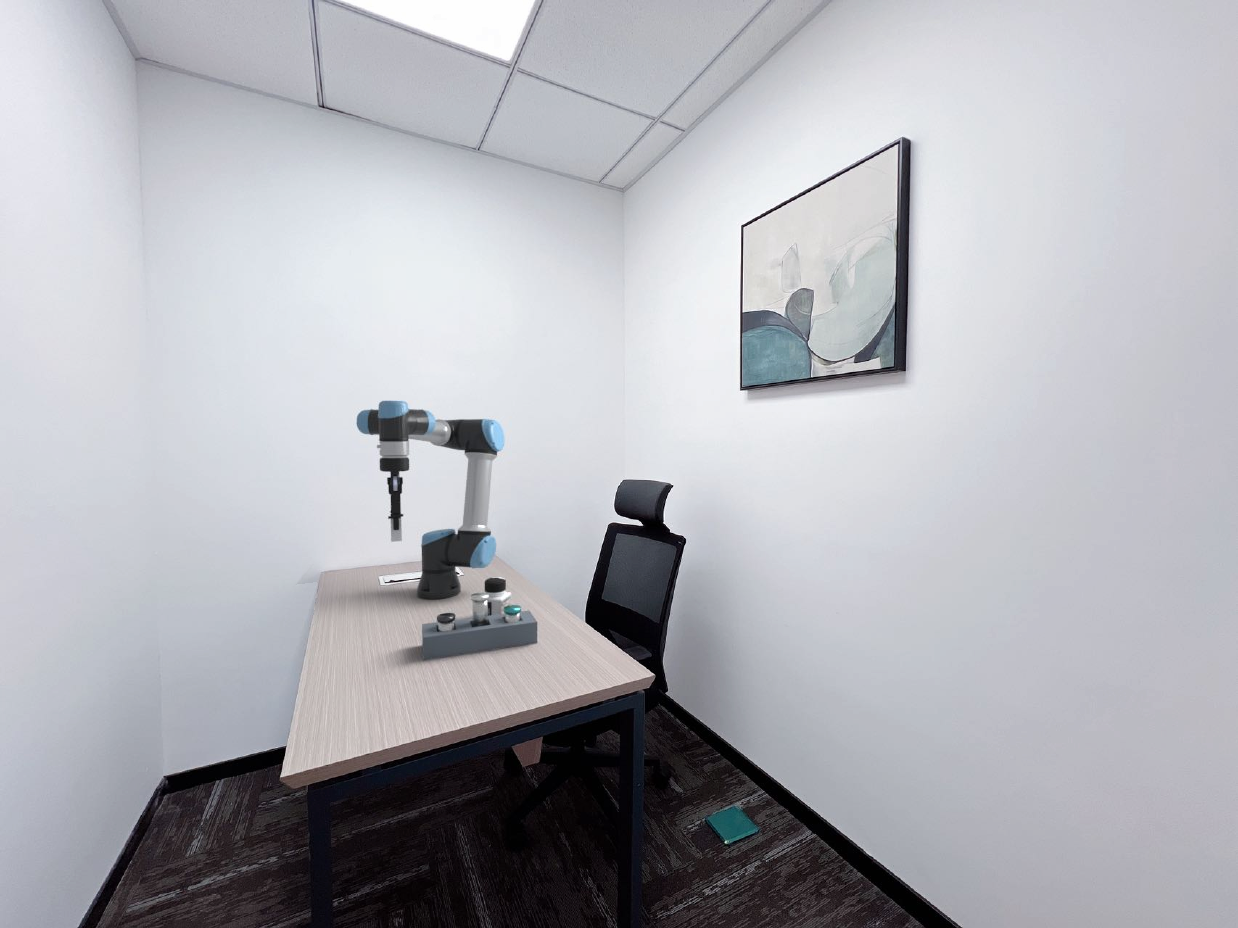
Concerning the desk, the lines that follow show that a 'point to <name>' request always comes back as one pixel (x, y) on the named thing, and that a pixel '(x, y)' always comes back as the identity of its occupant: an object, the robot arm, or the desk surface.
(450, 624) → the knob black
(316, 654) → the desk surface
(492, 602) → the container
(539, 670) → the desk surface
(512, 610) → the knob teal
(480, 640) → the mount
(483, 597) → the knob ivory
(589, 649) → the desk surface
